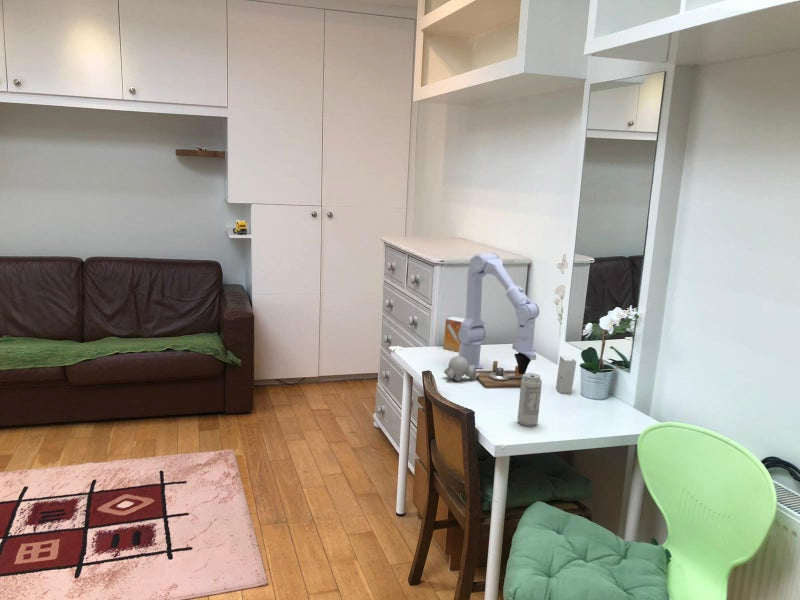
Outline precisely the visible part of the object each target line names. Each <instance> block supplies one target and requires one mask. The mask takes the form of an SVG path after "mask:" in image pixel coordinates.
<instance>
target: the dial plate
mask: <svg viewBox="0 0 800 600" xmlns="http://www.w3.org/2000/svg"><path fill="white" fill-rule="evenodd" d="M504 371H505V370H504V368H503V367H497V368H496V372H492V373H490V376H489V377H490V378H492V379H495V380H508V379H509V378H523V377H524V374H519V371H518V365H515V368H514V371H515V374H506V373H503V372H504Z"/></svg>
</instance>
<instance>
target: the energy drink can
mask: <svg viewBox="0 0 800 600" xmlns="http://www.w3.org/2000/svg"><path fill="white" fill-rule="evenodd" d="M542 384H543V382H542V379H541V375H539V374H536V373H533V372H532V373H531V372H526V373H525V374H523V378H522V379H521V388H519V389H520V390H519V400H518V409H517V421H518V423H519V424H520V425H522V426H524V427H534V426H536V425H537V423H538V422H539V413H540V404H541V394H542Z"/></svg>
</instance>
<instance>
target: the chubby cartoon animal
mask: <svg viewBox="0 0 800 600" xmlns="http://www.w3.org/2000/svg"><path fill="white" fill-rule="evenodd" d="M476 369H478V368H477V367H474V365H472V366H469V364H468V361H467V360H466V359H465V358H464V357H461V356H459V355H457V356H454V357H452V358H451V359H449V362H448V366H447V367H446V368H445V370H444V374H445V375H446V376H447V377H448V378H450V379H453V380H454V381H456V382H461V381H462V377H463V376H466V377H468V378H469V379H470V380H471V381H475V380H477V379H476V378H477V376H478V375H479V373H478V374H477V373H476V371H477V370H476Z"/></svg>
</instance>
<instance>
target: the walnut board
mask: <svg viewBox="0 0 800 600" xmlns="http://www.w3.org/2000/svg"><path fill="white" fill-rule="evenodd" d="M498 363H499V362H498V360H493V363H492V370H476V373H477V374H478V373H479V375H478V376H477V378H476V379H475V380H476V381H477V382H479V383H480V385H482V386H483V388H484V389H520V388H521V379H522V378H509V379H508V380H495V379H492V378H490V377H489V376H490V373H492V372H496V368H498V365H499V364H498ZM503 373H506V374H515V370H504V372H503Z"/></svg>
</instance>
